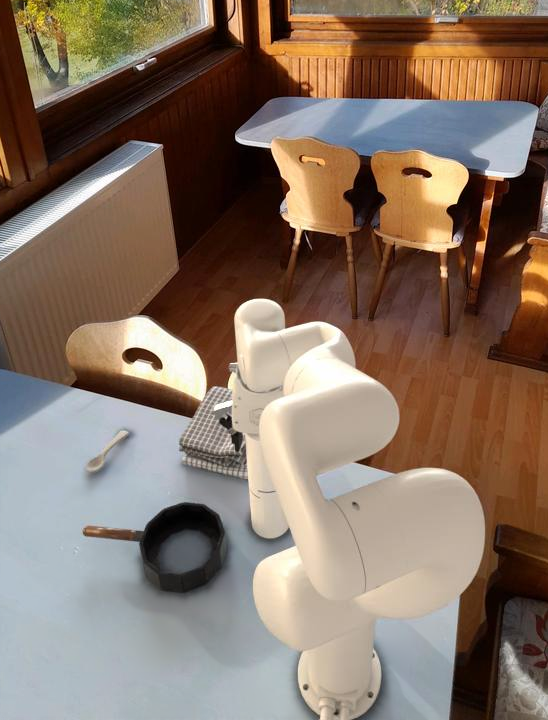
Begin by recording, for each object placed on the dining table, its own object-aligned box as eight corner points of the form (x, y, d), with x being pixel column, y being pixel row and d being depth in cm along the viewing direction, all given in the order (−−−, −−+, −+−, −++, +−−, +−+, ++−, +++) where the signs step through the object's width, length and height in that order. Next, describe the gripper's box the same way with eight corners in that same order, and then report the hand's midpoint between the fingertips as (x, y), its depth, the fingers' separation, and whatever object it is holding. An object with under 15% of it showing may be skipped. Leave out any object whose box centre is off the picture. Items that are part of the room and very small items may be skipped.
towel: (278, 418, 145) (277, 391, 141) (246, 484, 130) (244, 457, 126) (215, 403, 149) (212, 377, 145) (176, 466, 134) (172, 439, 130)
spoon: (83, 473, 132) (82, 465, 131) (120, 433, 142) (119, 426, 141) (95, 477, 131) (94, 470, 130) (132, 437, 141) (131, 430, 140)
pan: (214, 596, 111) (212, 580, 109) (69, 580, 113) (64, 564, 111) (233, 522, 123) (231, 506, 121) (102, 509, 125) (98, 493, 123)
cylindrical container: (284, 541, 120) (281, 445, 107) (246, 534, 121) (238, 437, 108) (294, 508, 126) (292, 413, 113) (258, 501, 127) (251, 406, 114)
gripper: (202, 384, 102) (211, 461, 111) (314, 393, 100) (314, 470, 109) (214, 352, 108) (222, 427, 117) (320, 360, 107) (319, 435, 115)
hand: (266, 448), depth 113 cm, fingers open, 9 cm apart
